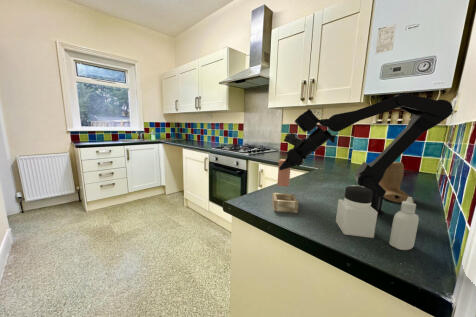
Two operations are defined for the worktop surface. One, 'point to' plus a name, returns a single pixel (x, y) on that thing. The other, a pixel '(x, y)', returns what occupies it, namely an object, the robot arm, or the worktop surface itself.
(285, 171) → the red peg
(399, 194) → the brown angle bracket
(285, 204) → the birch collar
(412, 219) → the eye dropper bottle
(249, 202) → the worktop surface
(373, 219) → the medicine bottle
